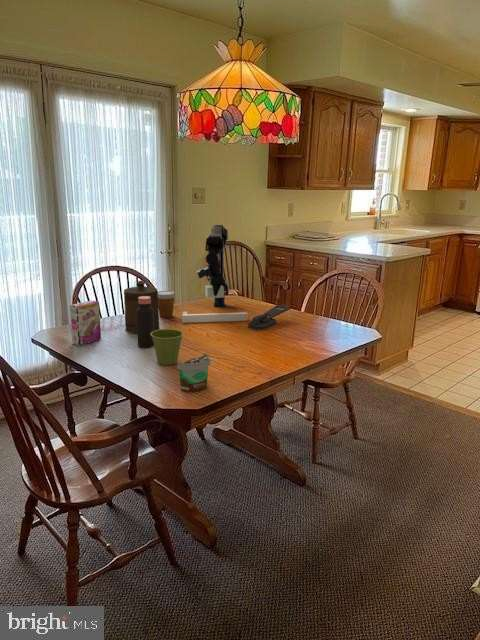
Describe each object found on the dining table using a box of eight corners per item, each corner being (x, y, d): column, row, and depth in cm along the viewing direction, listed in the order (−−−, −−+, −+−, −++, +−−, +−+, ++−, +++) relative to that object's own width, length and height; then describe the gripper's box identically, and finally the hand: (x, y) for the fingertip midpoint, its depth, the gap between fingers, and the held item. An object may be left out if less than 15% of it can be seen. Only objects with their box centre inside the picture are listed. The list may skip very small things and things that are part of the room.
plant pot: (186, 366, 174) (186, 336, 171) (153, 369, 170) (152, 339, 167) (181, 355, 185) (180, 327, 181) (149, 358, 181) (148, 329, 178)
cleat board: (181, 317, 236) (181, 310, 235) (244, 315, 241) (244, 308, 240) (182, 322, 227) (182, 315, 226) (247, 320, 232) (247, 313, 231)
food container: (190, 397, 149) (190, 367, 146) (177, 391, 153) (176, 362, 150) (218, 385, 158) (218, 357, 155) (205, 380, 162) (205, 352, 159)
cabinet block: (205, 295, 235) (205, 283, 234) (221, 295, 237) (221, 283, 236) (207, 298, 230) (207, 286, 229) (223, 297, 232) (223, 285, 230)
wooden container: (139, 322, 226) (137, 276, 220) (165, 327, 220) (164, 279, 214) (118, 331, 213) (115, 282, 207) (146, 336, 207) (144, 285, 201)
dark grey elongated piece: (292, 306, 233) (261, 317, 214) (291, 320, 235) (260, 331, 216) (277, 303, 238) (245, 313, 220) (276, 316, 240) (245, 327, 222)
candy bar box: (79, 346, 193) (76, 306, 188) (72, 344, 196) (68, 304, 191) (102, 339, 202) (99, 301, 197) (94, 337, 204) (91, 299, 200)
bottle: (134, 347, 193) (132, 298, 188) (143, 342, 199) (141, 294, 194) (149, 349, 191) (147, 300, 185) (158, 344, 197) (156, 296, 191)
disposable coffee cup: (168, 312, 244) (168, 289, 240) (179, 316, 237) (179, 293, 234) (152, 316, 238) (151, 292, 234) (163, 320, 231) (162, 295, 227)
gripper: (195, 259, 237) (195, 291, 241) (199, 265, 219) (200, 298, 223) (217, 259, 239) (217, 290, 243) (224, 265, 221) (223, 298, 225)
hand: (214, 294), depth 233 cm, fingers closed on cabinet block, 6 cm apart
